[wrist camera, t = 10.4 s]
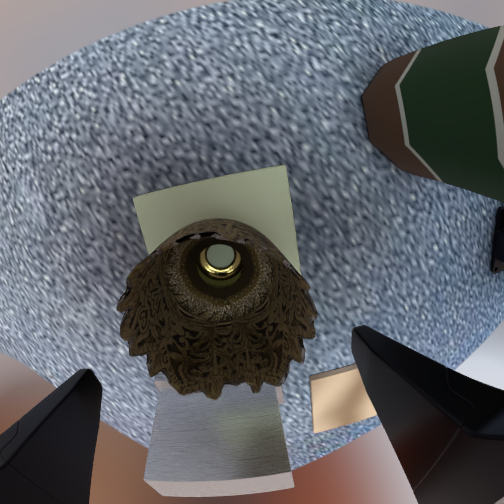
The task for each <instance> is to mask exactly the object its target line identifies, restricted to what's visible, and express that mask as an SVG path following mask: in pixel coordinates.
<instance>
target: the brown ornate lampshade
mask: <svg viewBox="0 0 504 504" xmlns="http://www.w3.org/2000/svg"><path fill="white" fill-rule="evenodd" d="M218 244H221V245H227V246H230V247H231V248H232V249H233V251H234V259H233V261H232V263H231V264H230V265H229V266H227V267H224V268H217V267H214V266H213V265H211V264H210V263H209V261H208V259H207V251H208V249H209V248H210V246H212V245H218ZM126 284H127V289H126V291H125V293H124V294H123V295H122V296H121V298H120V300H119V302H118V305H117V311H119V312H121V313H122V312H123V313H124V312H125V313H124V316H123V318H122V322H121V325H120V335H121V338H122V339H124V340H125V341H128V344H129V355H130V356H143V355H145V354H147V363H146V365H147V367H148V372H149V375H150V377H153V376H155V375H156V374H158V373H159V372H162V373H163V374H164V375H165V376H166V378H167V381H168V383H169V384H170V385H171V386H172V387H173V388H174V389H175V390H176V391H177V392H178V393H179V394H180V395H183V396H188V395H191V394H194V393H201V392H203V394H204V395H205V396H206V397H207V398H209V399H213V400H217V399H218V398H219V397H220V396H221V394H222V389H223V387H224V385H226V384H227V385H233V386H235V387H237V386H239V385H240V384H243V383H246V384H247V385H249V386H250V387H251V391H252V392H253V393H254V394H257V393H259V392H260V391H261V389H262V386H263V382H265V383H266V384H269V385H273V386H274V387H280V386H281V385H282V384H283V383H284V382H285V380H286V378H287V375H288V372H289V366H290V363H291V361H292V359H293V360H294V361H297V362H298V363H302V364H303V363H304V359H305V348H304V345H303V339H305V338H306V339H313V338H315V328H314V324H313V323H314V319H316V318H317V311H316V307H315V305H314V303H313V301H312V298H311V297H310V295H309V293H308V291H309V290H310V287H309V285H308V283H307V282H306V280H305V279H304V278H303V277H302V276H301V275H300V274H299V273H298V271H297V270H296V269H295V268H294V267H293V265H292V264H291V263H290V262H289V261H288V259H287V258H286V257H285V256H284V255H283V254H282V253H281V251H280V250H279V249H278V248H277V247H276V246H275V245H274V244H273V243H272V242H271V241H270V240H269V239H268V238H267V237H266V236H265V235H264V234H262V233H261V232H259V231H258V230H256V229H255V228H253V227H251V226H249V225H247V224H245V223H242V222H239V221H236V220H231V219H224V218H213V219H205V220H200V221H197V222H194V223H192V224H189V225H187V226H185V227H183V228H181V229H180V230H178V231H177V232H175V233H174V234H172V235H171V236H170V237H168V238H167V239H166V240H165V241H164V242H163V243H161V244H160V245H159V246H158V247H157V248H156V249H155V250H154V251H153V252H152V253H151V254H150V255H149V256H147V257H146V258H145V259H143V260H142V261H141V262H140V263H139V264H138V265H137V266H135V267H134V269H133V270H132V271H131V273H130V274H129V276H128V278H127V281H126ZM302 338H303V339H302Z"/></svg>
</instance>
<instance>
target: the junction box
mask: <svg viewBox="0 0 504 504" xmlns="http://www.w3.org/2000/svg"><path fill="white" fill-rule="evenodd" d="M154 383H155V385H156V387H157V388H158V390H159V392H160V394H159V399H158V403H157V408H156V413H155V418H154V423H153V429H152V434H151V439H150V445H149V451H148V456H147V463H146V469H145V475H144V481H145V482H147V483H148V484H149V485H150V486H151V487H153V488H154V489H155V490H156V491H157V492H159V493H160V494H161V495H163V496H179V497H180V496H181V497H182V496H183V497H208V496H230V495H242V494H251V493H261V492H268V491H275V490H281V489H287V488H293V487H294V482H293V477H292V472H291V467H290V461H289V456H288V451H287V446H286V440H285V435H284V430H283V425H282V420H281V414H280V409H279V404H282V403H284V398H283V393H282V387H281V386H280V387H274V386H273V385H269V384H266V383H265V382H263V386H262V389H261V391H260V392H259V393H257V394H254V393H253V392H252V391H251V387H250V386H249V385H247V384H246V383H243V384H240V385H239V386H237V387H235V386H233V385H227V384H226V385H224V387H223V389H222V394H221V396H220V397H219V398H218V399H217V400H213V399H209V398H207V397H206V396H205V395H204V394H203V392H201V393H194V394H191V395H188V396H183V395H180V394H179V393H178V392H177V391H176V390H175V389H174V388H173V387H172V386H171V385H170V384H169V383H168V381H167V378H166V376H165V375H164V374H159V375H155V378H154Z"/></svg>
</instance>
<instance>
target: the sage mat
mask: <svg viewBox="0 0 504 504" xmlns="http://www.w3.org/2000/svg"><path fill="white" fill-rule="evenodd" d="M133 202H134V206H135V209H136V213H137V217H138V220H139V224H140V227H141V231H142V234H143V237H144V241H145V244H146V247H147V251H148V254H149V255H150V254H151V253H152V252H153V251H154V250H155V249H156V248H157V247H158V246H159V245H160V244H161V243H163V242H164V241H165V240H166V239H167V238H168V237H170V236H171V235H172V234H174V233H175V232H177V231H178V230H180V229H181V228H183V227H185V226H187V225H189V224H192V223H194V222H197V221H200V220H205V219H213V218H224V219H231V220H236V221H239V222H242V223H245V224H247V225H249V226H251V227H253V228H255V229H256V230H258V231H259V232H261V233H262V234H264V235H265V236H266V237H267V238H268V239H269V240H270V241H271V242H272V243H273V244H274V245H275V246H276V247H277V248H278V249H279V250H280V251H281V253H282V254H283V255H284V256H285V257H286V258H287V259H288V261H289V262H290V263H291V264H292V265H293V267H294V268H295V269H296V270H297V271H298V273H299V274H300V275H301V271H300V263H299V255H298V247H297V240H296V232H295V225H294V218H293V210H292V204H291V197H290V190H289V184H288V177H287V171H286V165H278V166H272V167H267V168H261V169H255V170H250V171H244V172H239V173H234V174H229V175H224V176H219V177H214V178H210V179H205V180H200V181H196V182H191V183H187V184H183V185H179V186H174V187H170V188H166V189H162V190H158V191H154V192H150V193H147V194H143V195H139V196H135V197H134V198H133ZM207 259H208V261H209V263H210V264H211V265H213V266H214V267H217V268H224V267H227V266H229V265H230V264H231V263H232V261H233V259H234V251H233V249H232V248H231V247H230V246H227V245H221V244H218V245H212V246H210V248H209V249H208V251H207Z"/></svg>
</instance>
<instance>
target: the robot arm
mask: <svg viewBox="0 0 504 504" xmlns="http://www.w3.org/2000/svg"><path fill="white" fill-rule="evenodd" d="M503 270H504V207H500V208H499V210H498V214H497V226H496V236H495V244H494V251H493V258H492V264H491V272H492V273H494V274H496V273H498V272H500V271H503ZM351 349H352V354H353V357H354V359H355V362H356V365H357V368H358V370H359V373H360V376H361V379H362V382H363V385H364V387H365V390H366V392H367V394H368V397H369V399H370V401H371V403H372V405H373V407H374V409H375V411H376V413H377V415H378V417H379V419H380V421H381V423H382V425H383V427H384V429H385V431H386V433H387V435H388V437H389V440H390V442H391V444H392V446H393V448H394V450H395V452H396V454H397V457H398V459H399V461H400V463H401V465H402V468H403V470H404V472H405V474H406V476H407V479H408V481H409V483H410V485H411V488H412V490H413V492H414V495H415V497H416V499H417V502H418V504H504V390H501V389H498V388H495V387H493V386H489V385H487V384H484V383H482V382H479V381H476V380H474V379H471V378H469V377H467V376H465V375H463V374H460V373H458V372H456V371H454V370H452V369H450V368H448V367H447V368H446V366H444V365H442V364H440V363H438V362H436V361H434V360H432V359H430V358H428V357H426V356H424V355H422V354H420V353H418V352H416V351H414V350H413V349H411V348H409V347H407V346H405V345H403V344H401V343H399V342H397V341H395V340H393V339H391V338H389V337H387V336H385V335H383V334H381V333H379V332H377V331H376V330H374V329H372V328H370V327H368V326H366V325H361V326H358V327H354V328H353V329H352V342H351ZM101 400H102V385H101V383H100V382H99V380H98V379H97V377H96V376H95V374H94V372H93V371H92V370H91V369H80V370H79V371H77V372H76V373H75V374H74V375H72V376H71V377H70V378H69V379H68V380H66V381H65V382H64V383H63V384H61V385H60V386H59V387H58V388H57V389H55V390H54V391H53V392H52V393H51V394H49V395H48V396H47V397H46V398H44V399H43V400H42V401H41V402H40V403H38V404H37V405H36V406H35V407H34V408H32V409H31V410H30V411H29V412H28V413H26V414H25V415H24V416H23V417H22V418H21V419H20V420H18V421H17V422H16V423H14V424H13V425H12V426H11V427H10V428H8V429H7V430H6V431H5V432H3V433H2V434H1V435H0V504H89V497H90V485H91V477H92V469H93V461H94V453H95V447H96V441H97V435H98V429H99V422H100V410H101Z"/></svg>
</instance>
